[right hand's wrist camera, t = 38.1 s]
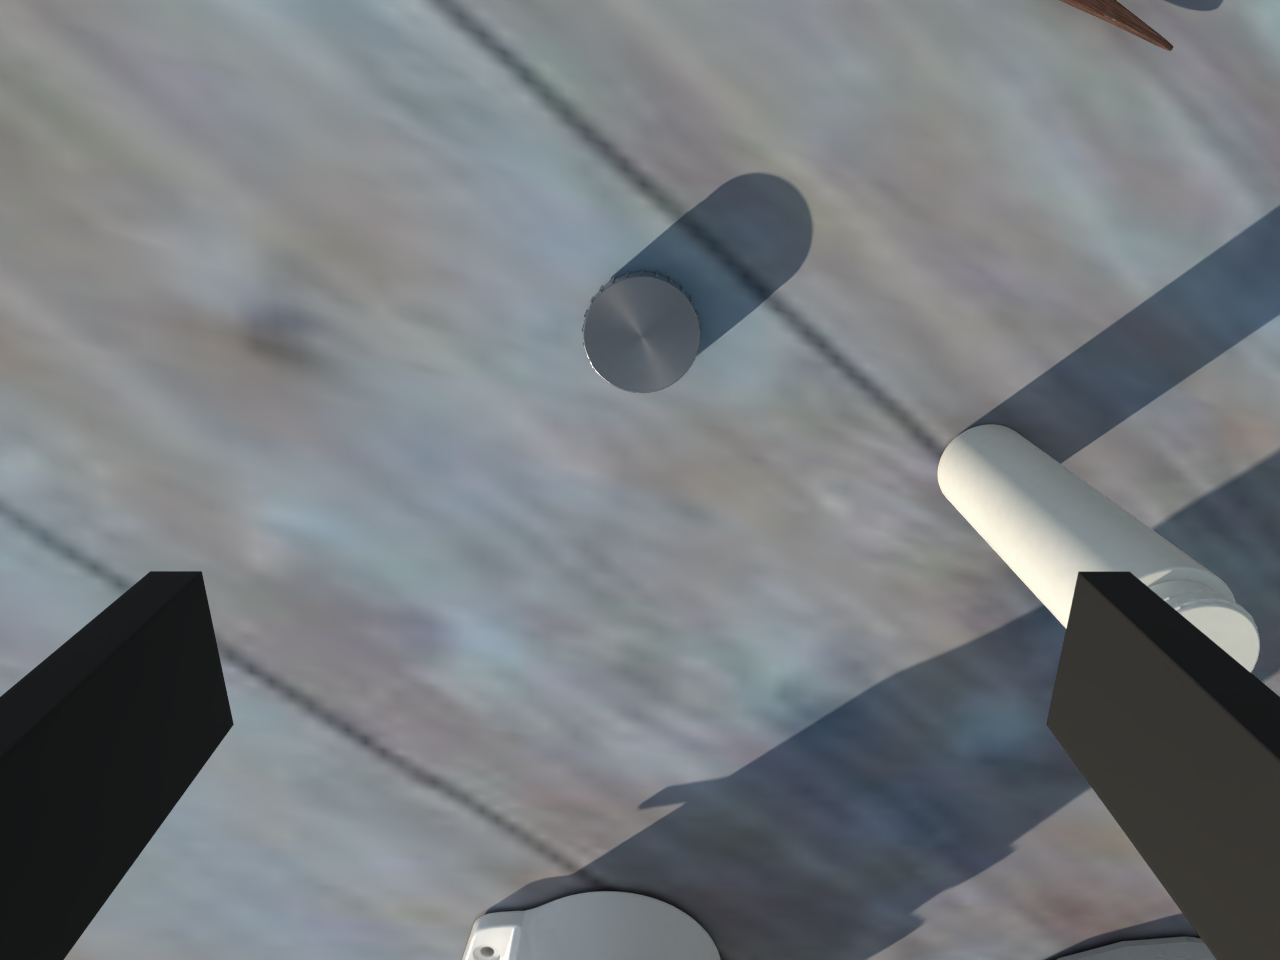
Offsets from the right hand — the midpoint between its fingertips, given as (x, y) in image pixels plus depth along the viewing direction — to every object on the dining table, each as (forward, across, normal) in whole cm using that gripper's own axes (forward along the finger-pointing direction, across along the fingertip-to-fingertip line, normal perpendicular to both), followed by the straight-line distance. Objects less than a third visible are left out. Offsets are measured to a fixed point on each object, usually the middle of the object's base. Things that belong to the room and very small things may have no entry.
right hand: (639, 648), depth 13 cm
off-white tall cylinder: (+28, +17, -7) cm, 33 cm away
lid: (+26, 0, 0) cm, 26 cm away
